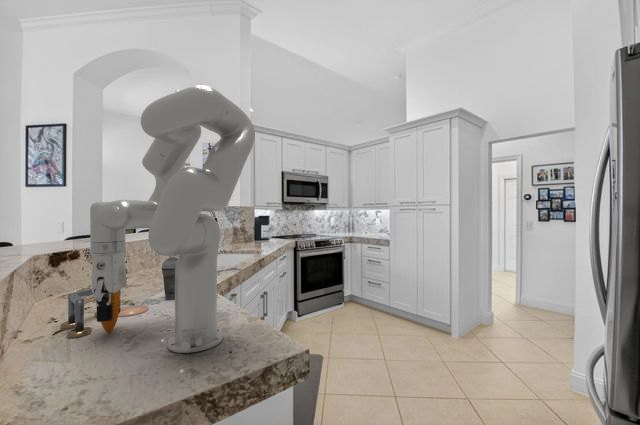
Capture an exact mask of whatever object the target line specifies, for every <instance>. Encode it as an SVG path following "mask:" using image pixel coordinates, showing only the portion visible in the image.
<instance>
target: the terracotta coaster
mask: <svg viewBox="0 0 640 425" xmlns="http://www.w3.org/2000/svg"><path fill="white" fill-rule="evenodd" d="M149 309H150V308H149V305H143V304H142V305H141V304H136V305H129V306H123V307H120V313H119V314H118V318H125V317H126V318H127V317H133V316H137V315H142V314H144V313H146V312H148V311H149Z"/></svg>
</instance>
